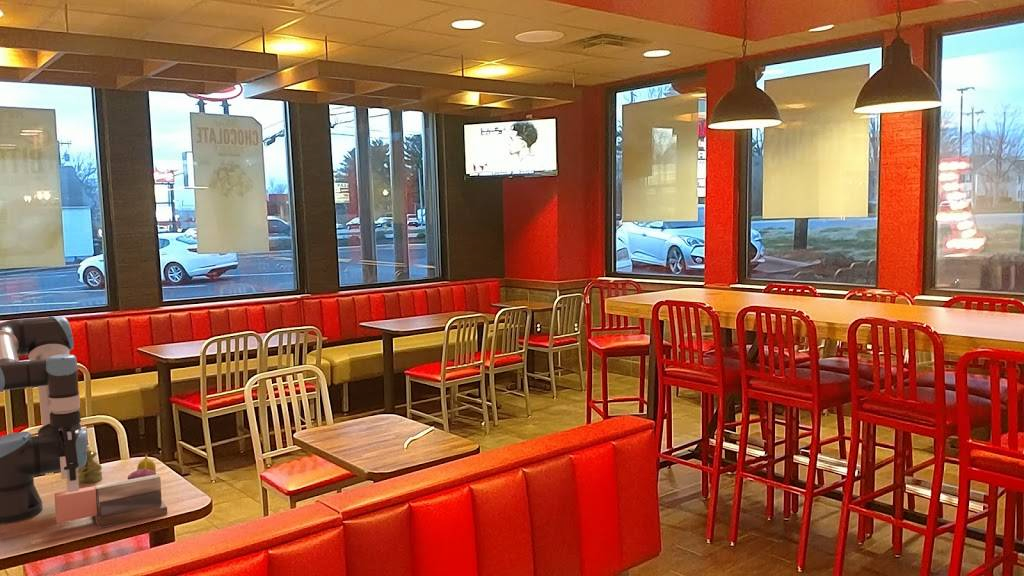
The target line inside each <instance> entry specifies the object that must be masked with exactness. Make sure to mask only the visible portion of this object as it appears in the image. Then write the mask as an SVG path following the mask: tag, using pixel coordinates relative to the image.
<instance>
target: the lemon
mask: <svg viewBox="0 0 1024 576" xmlns="http://www.w3.org/2000/svg"><path fill="white" fill-rule="evenodd" d="M144 465H145V458H143V459H142V460H141V461H139V462H138V464H137V467H136V469H137V470H139V469H144ZM146 469H151V470H153V471H154V472H156V473H157V469H156V464H155V462H154V461H153V459H150V458H147V467H146Z"/></svg>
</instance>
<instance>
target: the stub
mask: <svg viewBox="0 0 1024 576" xmlns="http://www.w3.org/2000/svg"><path fill="white" fill-rule="evenodd" d="M54 509H55V521H56V523H57V524H62V523H65V522H71V521H75V520H80V519H85V518H90V517H94V516H96V515H97V502H96V489H95V486H94V485H93V486H88V487H82V488H79V491H74V492H69V493H68V491H67V490H66V491H60V492H55V493H54Z"/></svg>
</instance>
